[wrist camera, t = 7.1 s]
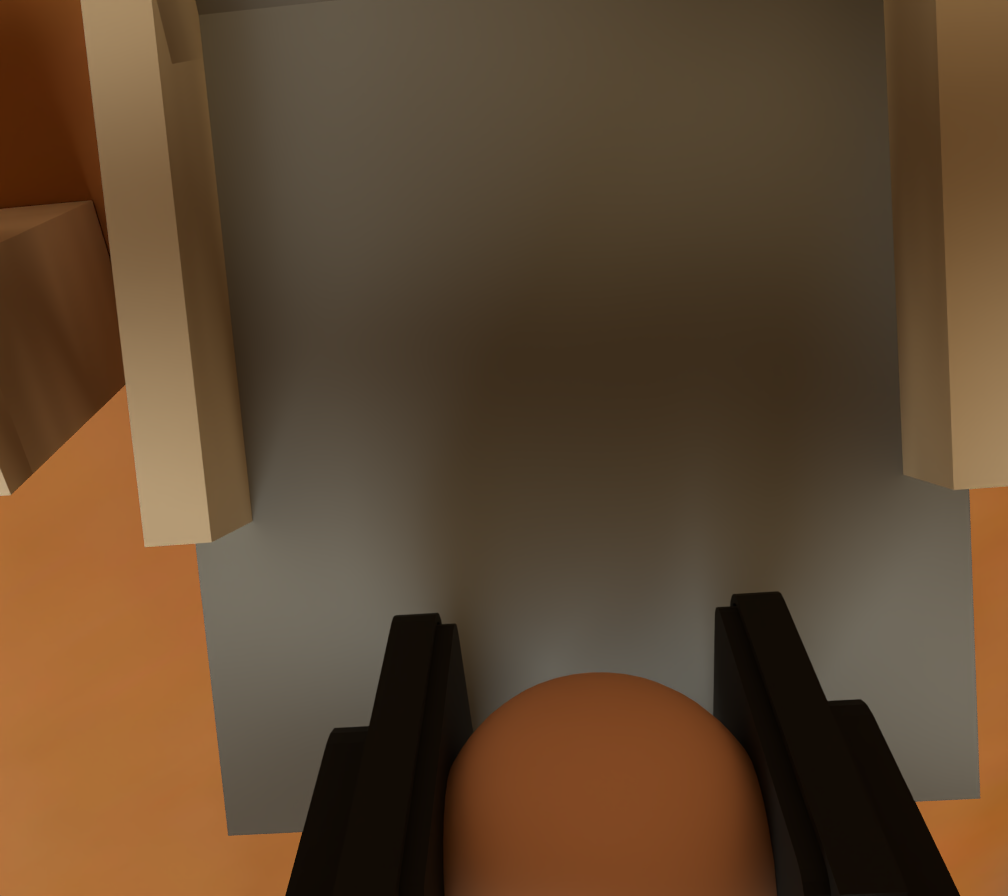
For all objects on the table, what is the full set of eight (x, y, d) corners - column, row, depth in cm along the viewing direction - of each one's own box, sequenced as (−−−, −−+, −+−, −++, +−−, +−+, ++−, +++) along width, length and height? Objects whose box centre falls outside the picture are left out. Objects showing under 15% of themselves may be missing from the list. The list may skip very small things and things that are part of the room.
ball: (747, 593, 10) (854, 883, 6) (738, 820, 11) (820, 1139, 8) (426, 614, 10) (379, 903, 7) (463, 832, 11) (439, 1149, 8)
